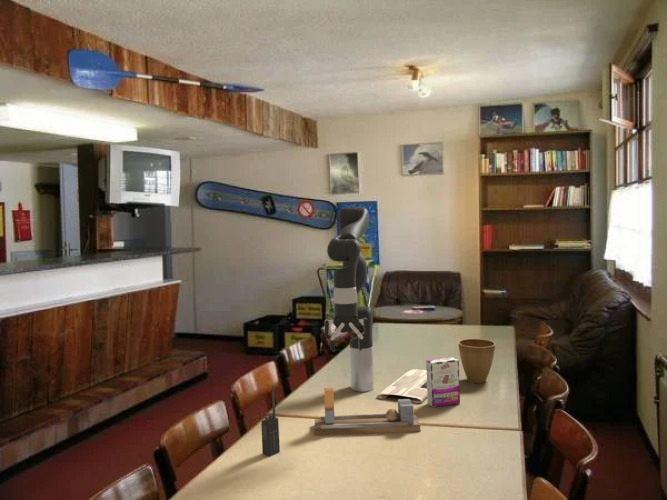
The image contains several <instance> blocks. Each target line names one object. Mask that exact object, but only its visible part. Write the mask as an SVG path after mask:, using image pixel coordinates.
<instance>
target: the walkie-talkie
mask: <svg viewBox="0 0 667 500" xmlns="http://www.w3.org/2000/svg"><path fill="white" fill-rule="evenodd" d="M271 395H272V397H271V398H272V400H271V401H272V403H271V405H272V408H271V409H272V414H268V415H267V416H265V417H264V419H263V420H261V424H260V426H261V443H262V444H261V446H262V454H263V455H264V456H267V457H272V456H274V455H277V454H279V453H280V452H281V451H280V450H281V449H280V448H281V447H280V428H279V427H280V426H279V417H277V414H276V400H275V398H276V397H275V385H272V386H271Z"/></svg>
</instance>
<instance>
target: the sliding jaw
mask: <svg viewBox="0 0 667 500" xmlns="http://www.w3.org/2000/svg"><path fill="white" fill-rule="evenodd" d="M334 392H335V390H334V388H333V387H329V388H327V387H326V388H323V393H324V394H323V396H324V416H325V425H332V424H335V418H334V416H335V397H334V396H335V394H334Z"/></svg>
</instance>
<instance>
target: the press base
mask: <svg viewBox="0 0 667 500" xmlns="http://www.w3.org/2000/svg"><path fill="white" fill-rule="evenodd" d="M411 401H412V399H410V398H403V399H402V398H401V399H397V412H398V418H397V420H395V421H389V420H388V419H387V418H386V413H371V414H369V413H366V414H364V413H363V414H345V415H341V414H340V415H334V418H335V424H332V425H325V415H321V416H320V418H316V419H315V418H314V436H328V435H329V436H331V435H332V436H333V435H352V434H379V433H381V434H383V433H384V434H385V433H402V432H403V433H406V432H421V423H420V421H419V419H418V417H417V415H415V414H414V404H413V402H411Z"/></svg>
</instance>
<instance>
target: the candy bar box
mask: <svg viewBox="0 0 667 500" xmlns="http://www.w3.org/2000/svg"><path fill="white" fill-rule="evenodd" d="M425 364H426V365H425V366H426V367H425V368H426V369H425V370H426V371H427V397H426V399H427V404H428V405H429V406H431V408H438V407H446V406H451V405H452V406H453V405H460V404H461V394H460V393H461V389H460V388H461V387H460V366H459V364H460V361H459V359H457V358H456V357H451V356H450V357H443V358H435V359H427V360H425Z"/></svg>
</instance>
